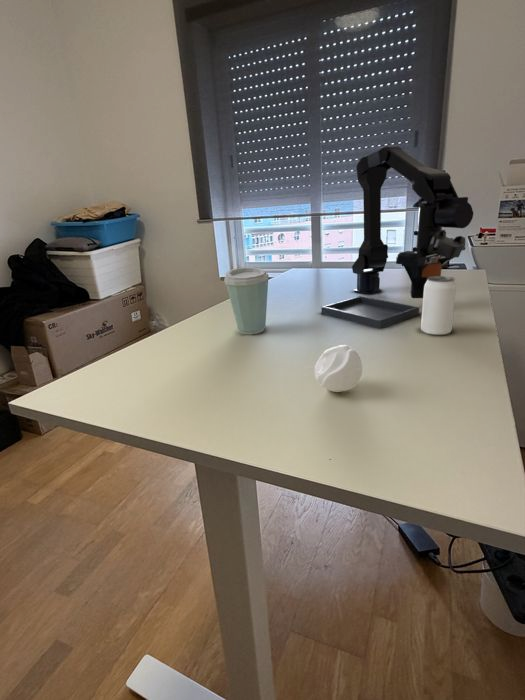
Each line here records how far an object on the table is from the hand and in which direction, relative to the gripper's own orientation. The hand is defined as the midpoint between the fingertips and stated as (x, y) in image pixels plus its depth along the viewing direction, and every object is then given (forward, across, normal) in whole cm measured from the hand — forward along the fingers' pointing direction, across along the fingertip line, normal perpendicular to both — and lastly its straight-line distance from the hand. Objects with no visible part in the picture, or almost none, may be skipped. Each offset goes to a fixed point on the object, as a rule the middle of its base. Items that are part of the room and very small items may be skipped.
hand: (424, 287), depth 108 cm
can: (+6, -15, -13) cm, 21 cm away
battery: (+3, 0, 0) cm, 3 cm away
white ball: (+6, -52, -18) cm, 55 cm away
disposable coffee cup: (+6, -44, +19) cm, 48 cm away
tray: (+6, -14, +7) cm, 17 cm away
